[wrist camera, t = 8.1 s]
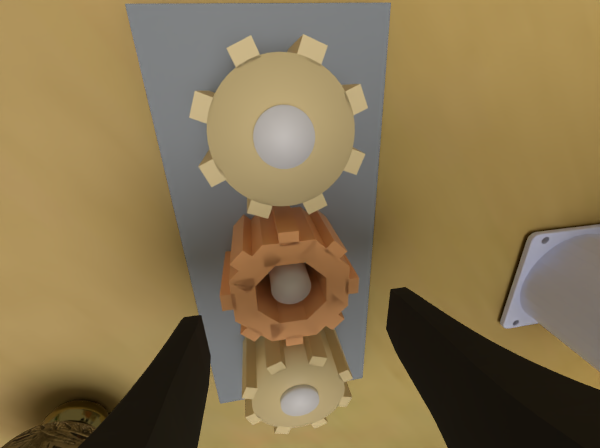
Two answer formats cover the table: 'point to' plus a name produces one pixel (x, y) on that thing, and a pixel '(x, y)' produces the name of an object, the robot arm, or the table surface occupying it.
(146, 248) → the table surface
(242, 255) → the loose gear
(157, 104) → the gear board
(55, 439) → the cup
